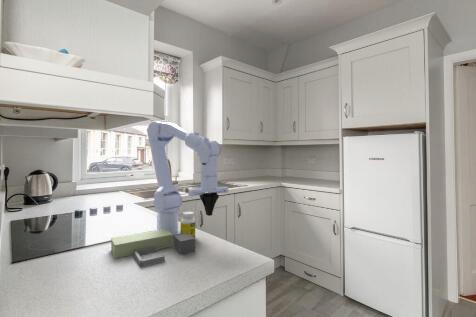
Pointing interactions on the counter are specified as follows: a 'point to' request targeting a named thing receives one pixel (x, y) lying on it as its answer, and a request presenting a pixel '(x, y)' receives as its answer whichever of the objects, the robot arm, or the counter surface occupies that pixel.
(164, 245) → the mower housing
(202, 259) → the counter surface
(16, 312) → the counter surface
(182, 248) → the chute block
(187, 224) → the supplement bottle
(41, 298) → the counter surface
